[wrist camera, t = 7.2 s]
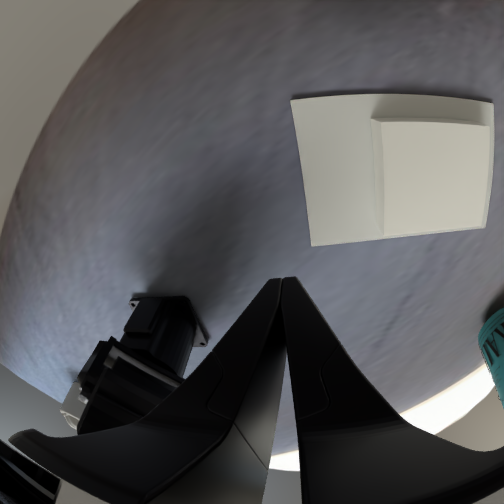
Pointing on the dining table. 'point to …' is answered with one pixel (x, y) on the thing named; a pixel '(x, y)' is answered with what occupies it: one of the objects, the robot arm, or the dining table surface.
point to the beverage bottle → (494, 349)
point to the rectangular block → (429, 173)
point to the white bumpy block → (73, 406)
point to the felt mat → (362, 157)
